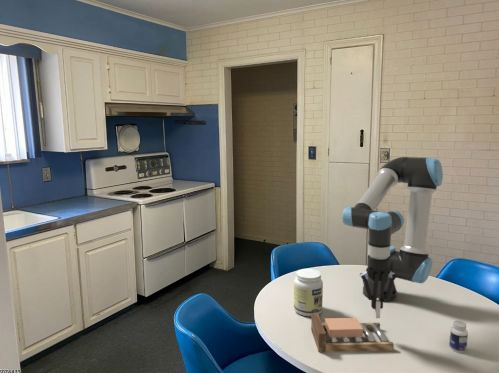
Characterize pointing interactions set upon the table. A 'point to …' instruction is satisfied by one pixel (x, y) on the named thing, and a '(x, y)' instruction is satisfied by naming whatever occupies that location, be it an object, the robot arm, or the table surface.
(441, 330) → the table surface
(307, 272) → the supplement tub
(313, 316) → the frame
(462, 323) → the pill bottle
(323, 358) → the table surface
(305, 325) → the table surface
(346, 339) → the roller bed
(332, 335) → the slab
